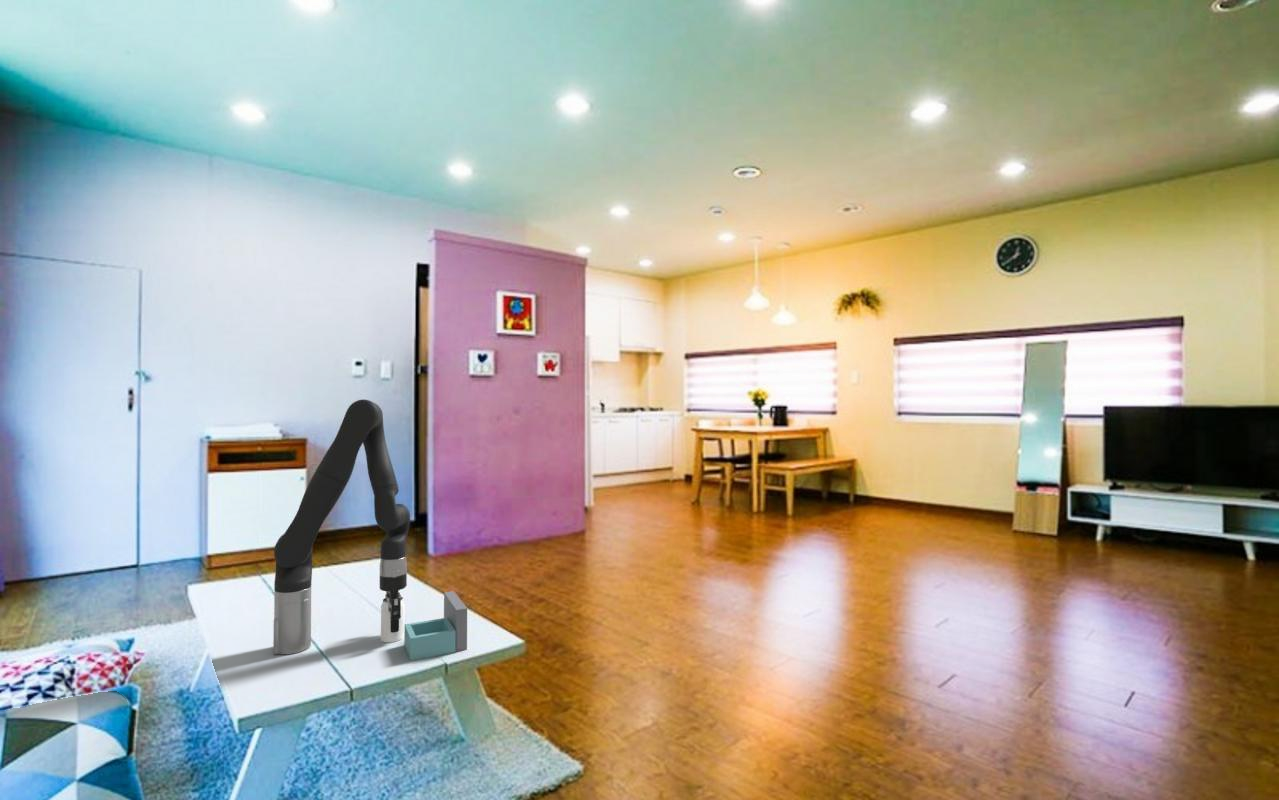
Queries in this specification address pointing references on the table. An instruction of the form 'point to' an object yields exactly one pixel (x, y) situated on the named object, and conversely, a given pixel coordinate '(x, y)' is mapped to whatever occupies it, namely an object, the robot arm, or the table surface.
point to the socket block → (429, 638)
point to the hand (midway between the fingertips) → (393, 627)
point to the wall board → (456, 618)
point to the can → (386, 623)
